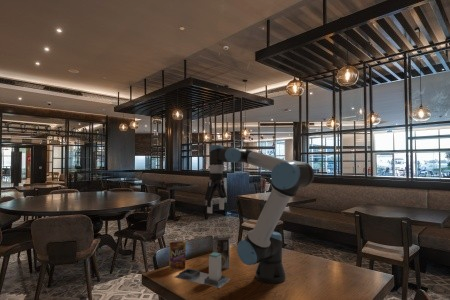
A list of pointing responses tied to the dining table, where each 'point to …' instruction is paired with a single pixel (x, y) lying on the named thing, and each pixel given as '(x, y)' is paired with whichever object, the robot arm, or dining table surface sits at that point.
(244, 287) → the dining table surface
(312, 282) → the dining table surface
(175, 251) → the candy box
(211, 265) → the white rectangular bottle
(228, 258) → the coffee box
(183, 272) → the panel
